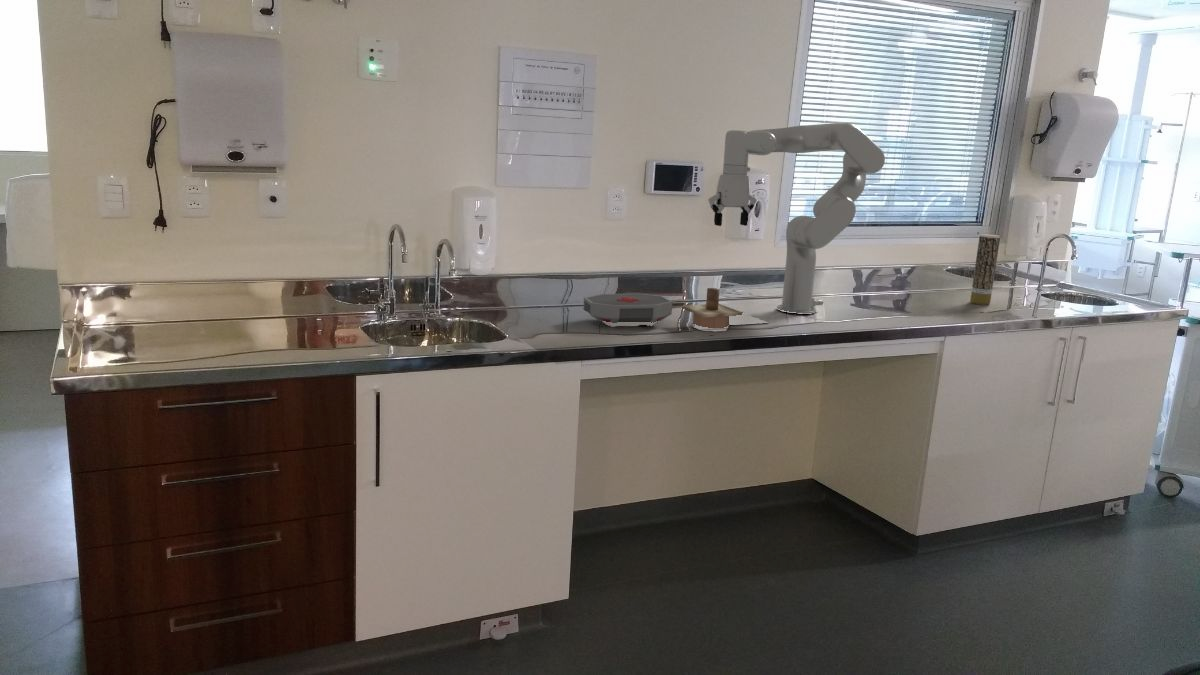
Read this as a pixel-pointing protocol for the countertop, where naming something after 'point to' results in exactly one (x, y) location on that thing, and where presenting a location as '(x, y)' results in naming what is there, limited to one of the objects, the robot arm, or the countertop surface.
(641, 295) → the first aid kit
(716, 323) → the bowl
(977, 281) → the bark textured cylinder
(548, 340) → the countertop surface
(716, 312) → the cover
